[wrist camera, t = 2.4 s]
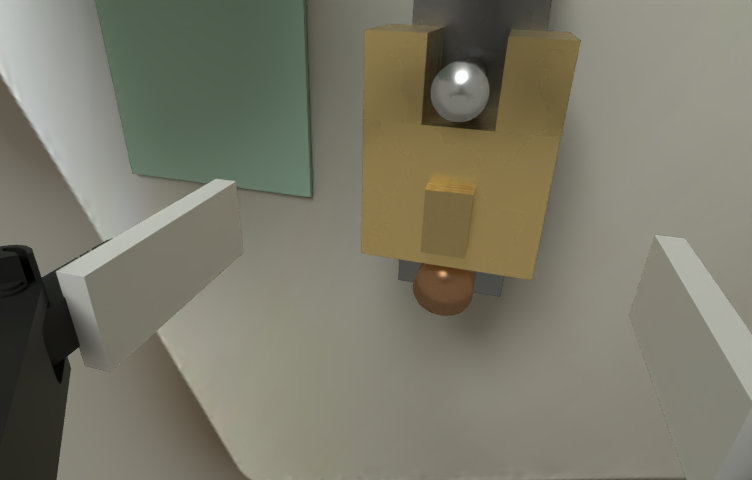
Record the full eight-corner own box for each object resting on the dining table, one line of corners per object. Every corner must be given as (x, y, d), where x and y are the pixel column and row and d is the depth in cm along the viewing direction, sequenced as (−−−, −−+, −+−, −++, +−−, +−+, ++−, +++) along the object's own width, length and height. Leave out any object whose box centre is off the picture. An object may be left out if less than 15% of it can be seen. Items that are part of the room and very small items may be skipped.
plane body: (433, -67, 24) (389, -97, 16) (559, -67, 23) (577, -100, 15) (411, 249, 32) (375, 331, 24) (503, 263, 31) (495, 354, 23)
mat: (89, -48, 29) (84, -49, 29) (304, -46, 26) (301, -46, 26) (136, 171, 36) (132, 173, 35) (312, 195, 33) (310, 197, 32)
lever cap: (391, 24, 23) (358, 30, 18) (570, 32, 21) (583, 42, 16) (384, 216, 27) (356, 260, 23) (530, 237, 26) (531, 289, 21)
